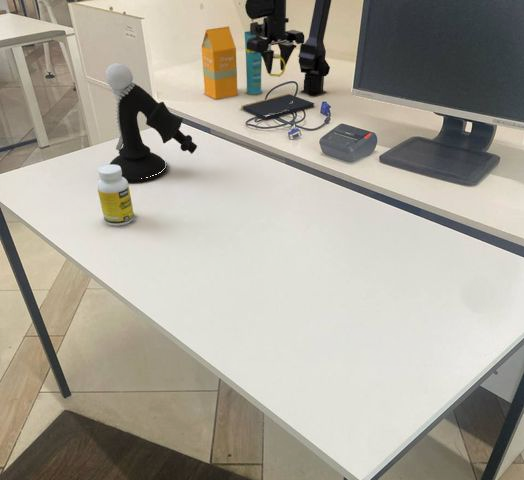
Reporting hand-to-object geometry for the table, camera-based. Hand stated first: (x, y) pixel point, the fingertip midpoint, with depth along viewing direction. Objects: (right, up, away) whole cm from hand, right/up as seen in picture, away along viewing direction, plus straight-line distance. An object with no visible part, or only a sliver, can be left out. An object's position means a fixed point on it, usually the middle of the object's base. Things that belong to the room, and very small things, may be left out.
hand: (275, 71), depth 166 cm
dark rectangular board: (+1, -9, +6) cm, 11 cm away
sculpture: (-32, -41, -30) cm, 60 cm away
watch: (0, -1, +1) cm, 1 cm away
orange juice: (-19, +1, +17) cm, 25 cm away
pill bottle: (-36, -59, -49) cm, 84 cm away
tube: (-7, +2, +18) cm, 20 cm away
